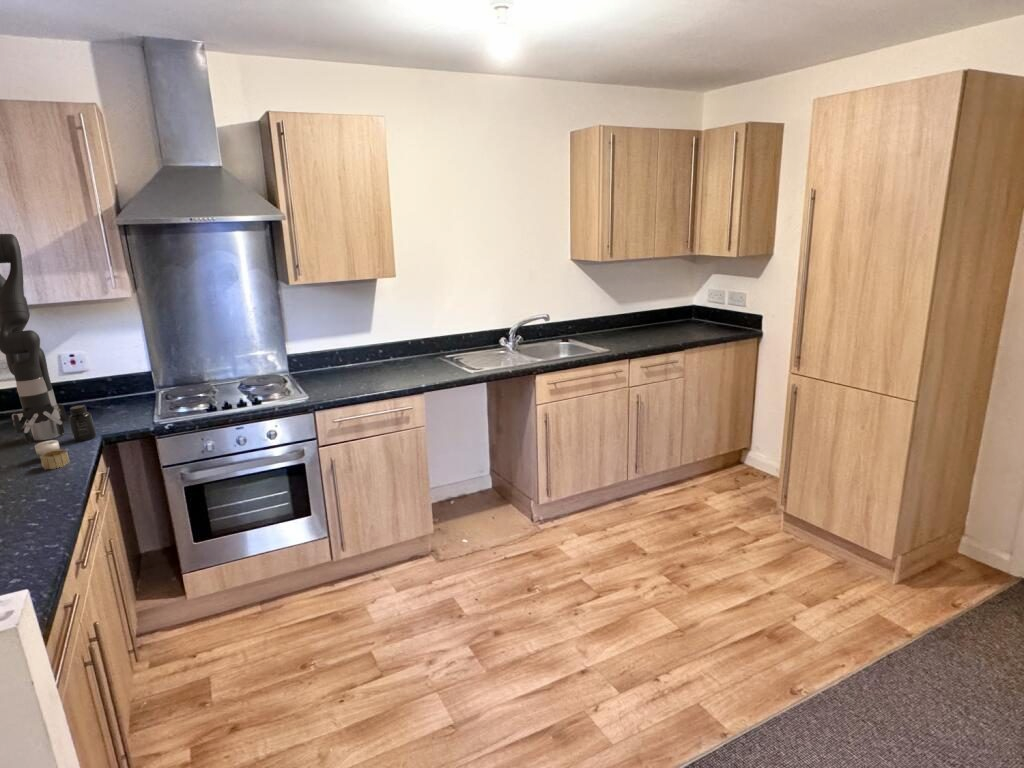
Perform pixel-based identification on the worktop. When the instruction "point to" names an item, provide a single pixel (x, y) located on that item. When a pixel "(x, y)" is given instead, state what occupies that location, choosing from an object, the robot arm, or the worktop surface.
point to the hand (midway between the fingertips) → (45, 438)
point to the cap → (47, 446)
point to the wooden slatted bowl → (54, 459)
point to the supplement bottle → (81, 423)
